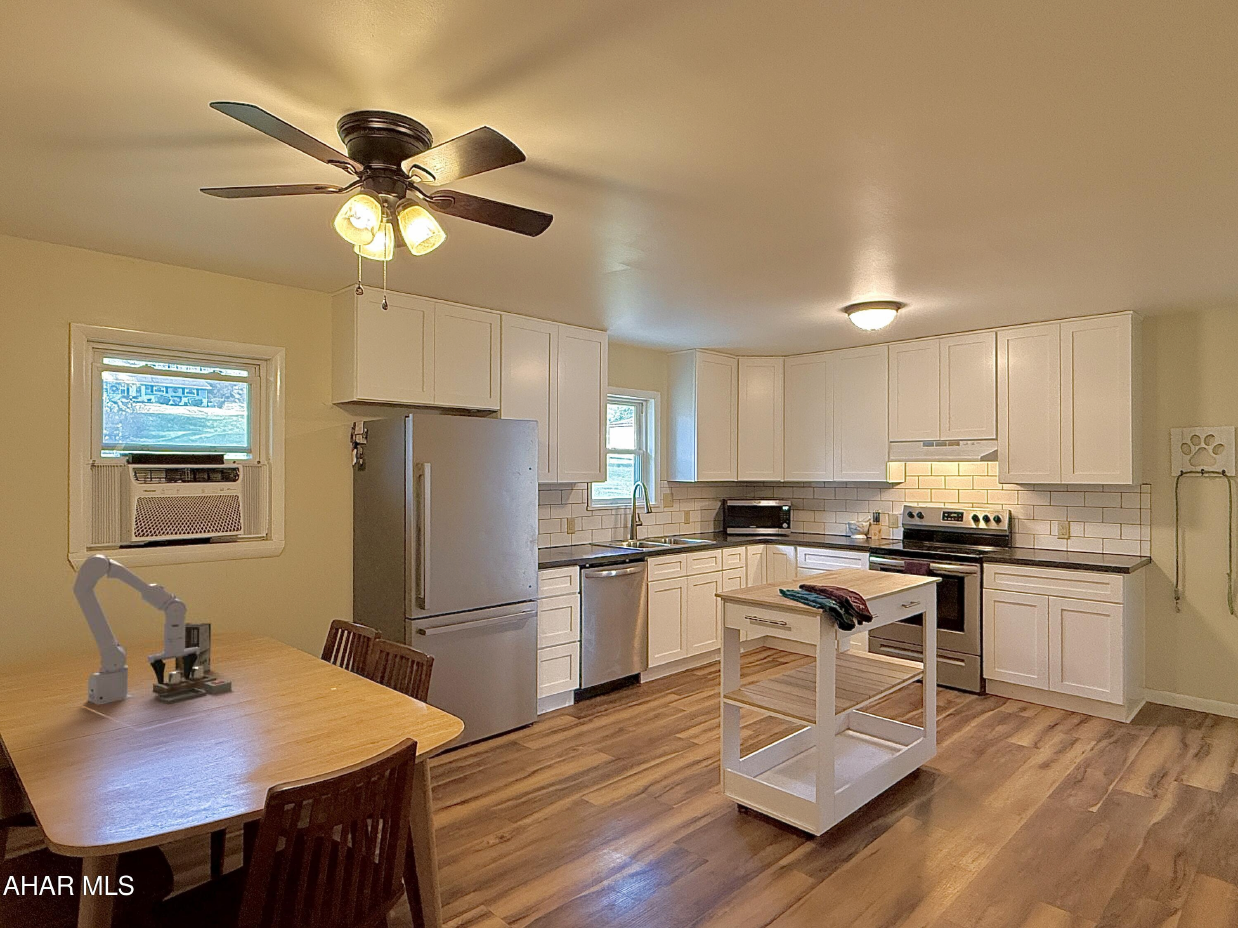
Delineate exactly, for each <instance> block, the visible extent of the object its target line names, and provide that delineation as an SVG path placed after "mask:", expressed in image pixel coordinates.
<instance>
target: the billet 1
mask: <svg viewBox="0 0 1238 928" xmlns="http://www.w3.org/2000/svg"><path fill="white" fill-rule="evenodd" d="M181 678H182V673H181V671H175V670H174V671H169V672H168V673H167V681H168V687H170V686H175V685H179V684H181Z"/></svg>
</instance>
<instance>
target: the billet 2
mask: <svg viewBox="0 0 1238 928" xmlns="http://www.w3.org/2000/svg"><path fill="white" fill-rule="evenodd" d="M203 674H204V672H203V666H195V667H193V668H192V670H191V673H190V681H191V682H193V681H198V680H202V679H203Z"/></svg>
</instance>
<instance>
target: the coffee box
mask: <svg viewBox="0 0 1238 928" xmlns="http://www.w3.org/2000/svg"><path fill="white" fill-rule="evenodd" d="M211 628H212V623H210V622H209V623H208V622H185V648H194V647H198V648H200V654H196V655H198V659H197V660H196V662H195V663H194V665H193V667H195V666H203V673H204V672H207V671H209V670H211V646H212V645H211V643H212V642H211V639H212V638H211V636H212V635H211V633H212V629H211ZM174 659H175V667H174V669H175V670H174V671H181V674H184V664H183V657H177V658H174Z"/></svg>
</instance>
